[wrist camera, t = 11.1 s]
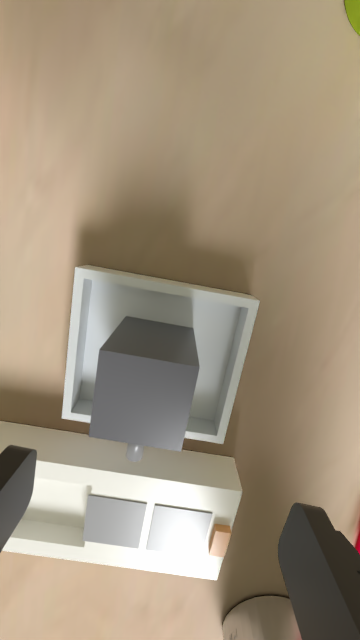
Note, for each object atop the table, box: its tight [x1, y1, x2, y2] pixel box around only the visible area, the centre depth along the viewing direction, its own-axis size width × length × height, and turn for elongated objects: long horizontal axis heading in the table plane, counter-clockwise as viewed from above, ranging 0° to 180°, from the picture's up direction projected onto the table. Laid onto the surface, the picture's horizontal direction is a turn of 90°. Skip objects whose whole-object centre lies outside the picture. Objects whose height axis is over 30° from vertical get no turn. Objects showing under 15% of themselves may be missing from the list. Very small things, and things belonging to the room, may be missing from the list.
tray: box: [62, 265, 260, 444], centre depth 21 cm, size 12×11×2 cm
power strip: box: [0, 421, 243, 580], centre depth 23 cm, size 20×9×4 cm, turn 80°
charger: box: [89, 316, 200, 462], centre depth 18 cm, size 5×7×7 cm
